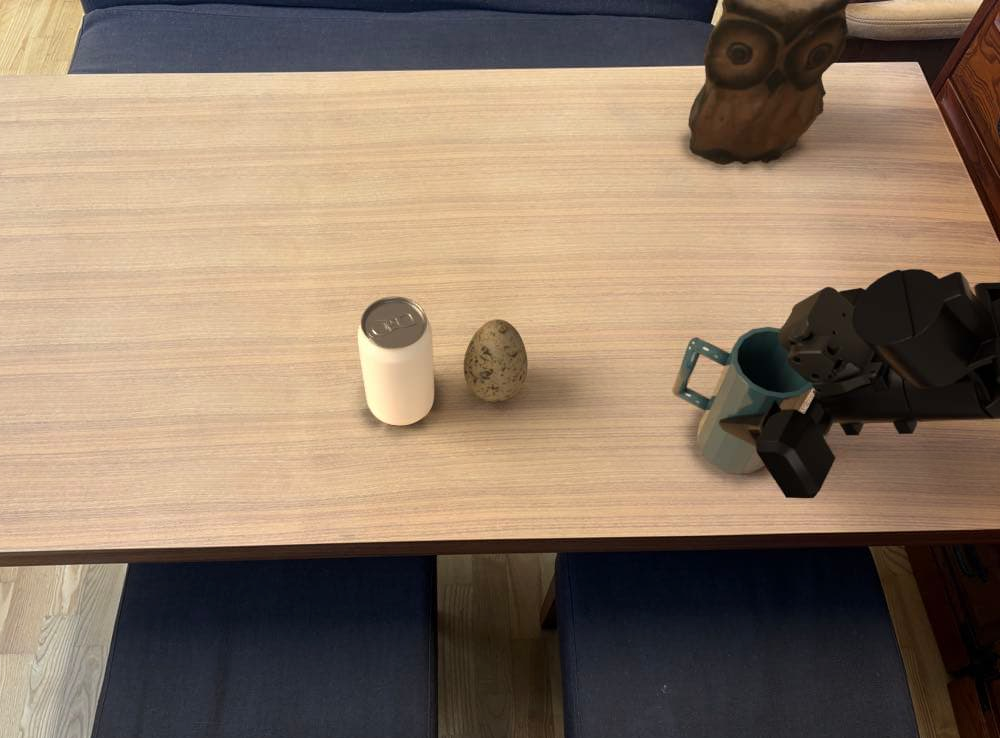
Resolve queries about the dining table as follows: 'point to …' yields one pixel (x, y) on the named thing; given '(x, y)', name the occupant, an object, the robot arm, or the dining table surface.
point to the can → (397, 360)
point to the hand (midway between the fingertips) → (738, 395)
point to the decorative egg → (495, 361)
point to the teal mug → (740, 393)
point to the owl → (764, 77)
